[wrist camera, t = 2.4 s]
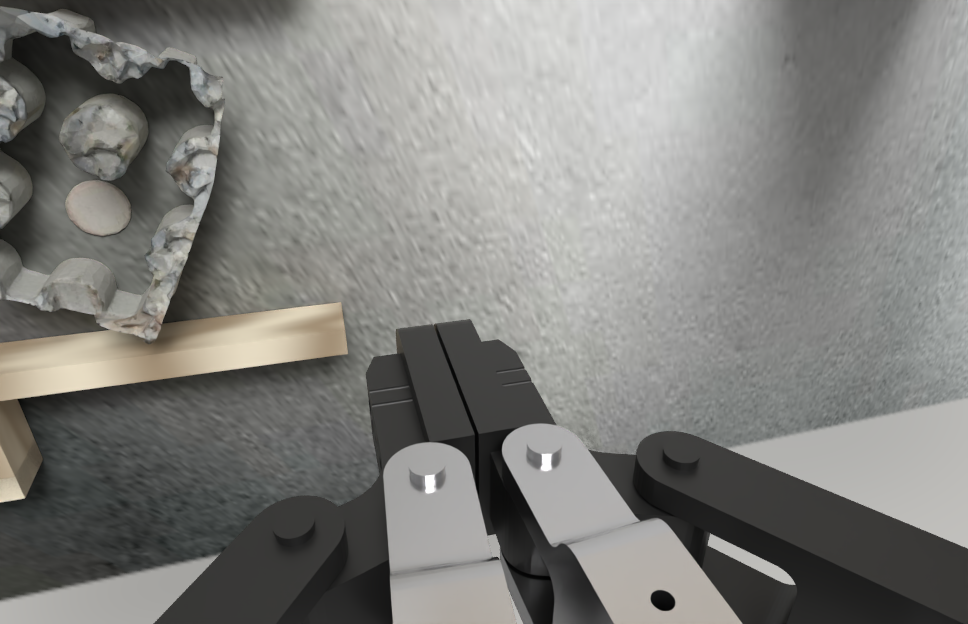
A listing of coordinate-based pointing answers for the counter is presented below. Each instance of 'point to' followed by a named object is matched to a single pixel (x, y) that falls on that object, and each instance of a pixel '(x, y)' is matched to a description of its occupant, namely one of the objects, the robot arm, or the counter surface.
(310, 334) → the box
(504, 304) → the counter surface
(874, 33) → the counter surface
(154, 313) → the egg carton
